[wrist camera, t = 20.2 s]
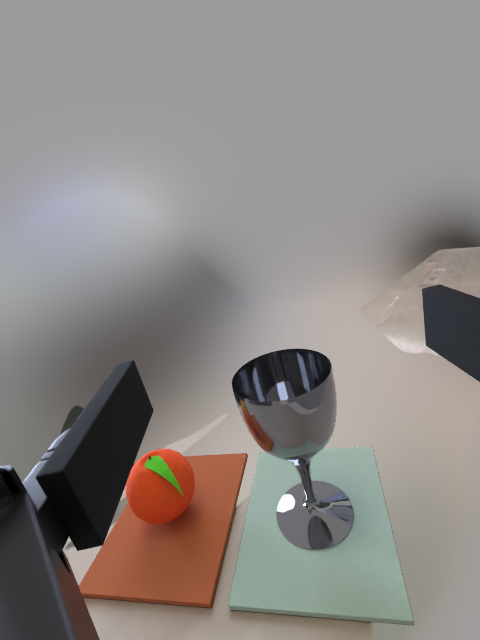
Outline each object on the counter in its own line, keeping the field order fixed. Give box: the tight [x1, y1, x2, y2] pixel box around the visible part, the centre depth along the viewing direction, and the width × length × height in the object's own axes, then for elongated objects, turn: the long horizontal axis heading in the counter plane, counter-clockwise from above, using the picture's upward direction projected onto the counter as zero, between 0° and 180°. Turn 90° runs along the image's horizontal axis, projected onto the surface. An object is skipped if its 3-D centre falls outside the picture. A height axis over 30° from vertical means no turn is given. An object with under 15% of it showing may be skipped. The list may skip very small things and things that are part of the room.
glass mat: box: [228, 447, 414, 625], centre depth 30 cm, size 13×16×1 cm
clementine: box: [126, 449, 195, 524], centre depth 33 cm, size 8×7×7 cm
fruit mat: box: [79, 453, 248, 608], centre depth 34 cm, size 13×16×1 cm
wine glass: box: [232, 349, 354, 550], centre depth 28 cm, size 8×8×15 cm
